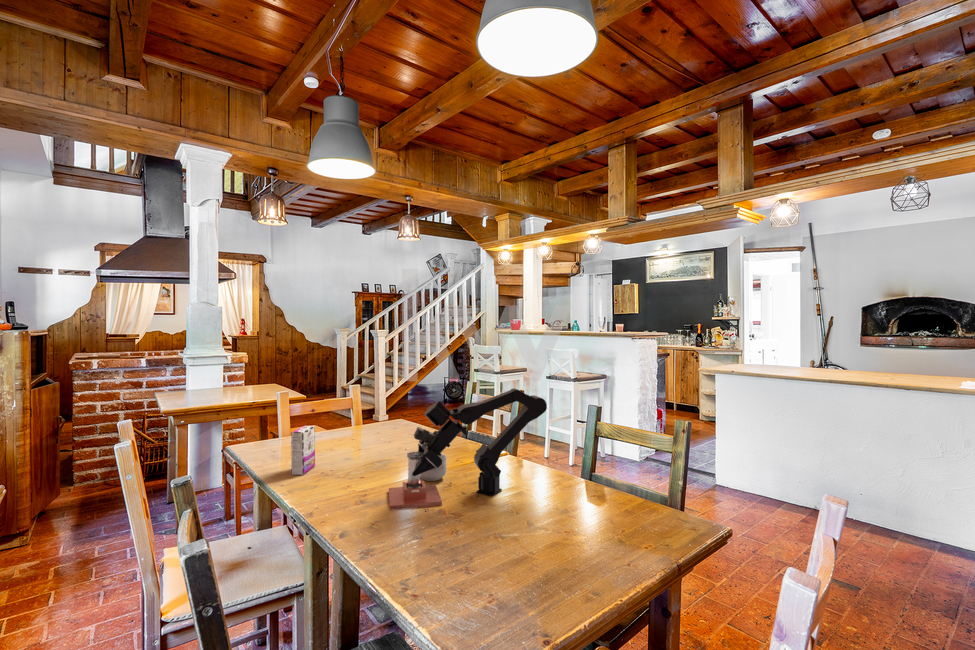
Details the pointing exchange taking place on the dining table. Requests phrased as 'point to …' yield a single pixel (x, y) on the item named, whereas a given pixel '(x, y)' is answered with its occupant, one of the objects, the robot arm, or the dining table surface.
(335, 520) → the dining table surface
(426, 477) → the teacup
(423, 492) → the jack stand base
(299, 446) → the candy bar box
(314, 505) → the dining table surface
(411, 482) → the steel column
